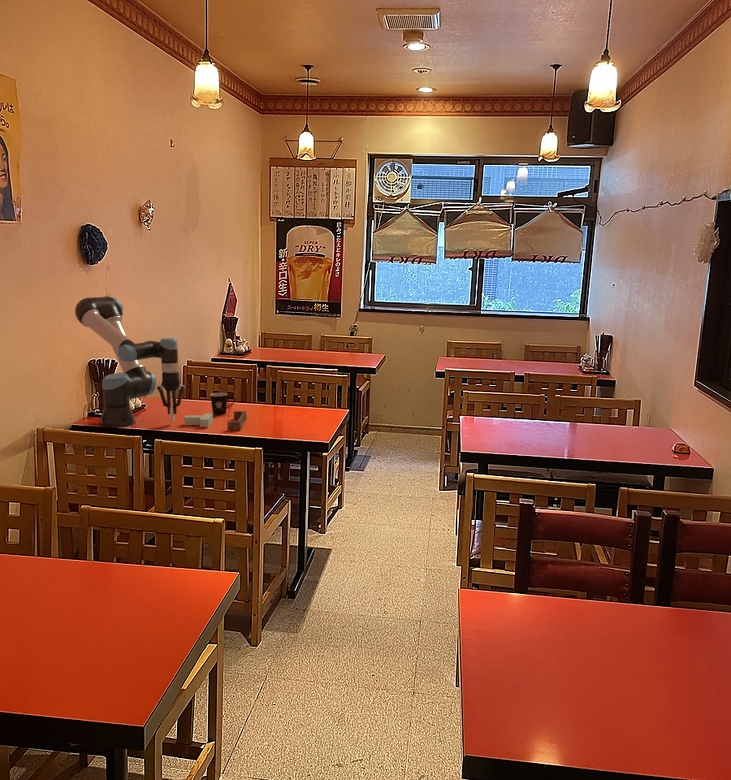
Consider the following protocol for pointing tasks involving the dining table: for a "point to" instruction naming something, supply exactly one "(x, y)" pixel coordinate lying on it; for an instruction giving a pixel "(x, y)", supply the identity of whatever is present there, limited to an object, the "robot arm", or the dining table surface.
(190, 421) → the tee block
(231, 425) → the fence
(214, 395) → the coffee mug
